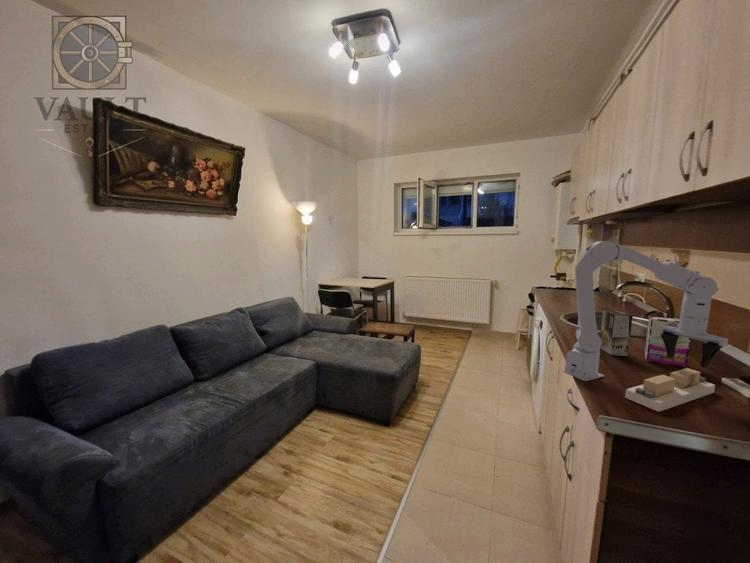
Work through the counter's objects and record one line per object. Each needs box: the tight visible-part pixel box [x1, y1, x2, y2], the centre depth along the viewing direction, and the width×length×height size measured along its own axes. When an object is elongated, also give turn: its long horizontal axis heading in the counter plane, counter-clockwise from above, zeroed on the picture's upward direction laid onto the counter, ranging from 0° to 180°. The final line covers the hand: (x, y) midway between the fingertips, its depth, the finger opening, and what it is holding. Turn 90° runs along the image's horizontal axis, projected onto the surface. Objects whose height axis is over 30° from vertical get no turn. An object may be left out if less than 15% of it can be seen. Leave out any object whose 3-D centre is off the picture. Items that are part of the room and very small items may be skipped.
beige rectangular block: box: [669, 367, 701, 389], centre depth 94 cm, size 9×3×6 cm, turn 112°
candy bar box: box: [644, 316, 692, 368], centre depth 114 cm, size 11×5×16 cm, turn 58°
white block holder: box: [624, 374, 716, 413], centre depth 91 cm, size 28×8×6 cm, turn 112°
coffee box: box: [599, 309, 634, 357], centre depth 125 cm, size 9×6×16 cm
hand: (686, 361), depth 92 cm, fingers open, 7 cm apart
